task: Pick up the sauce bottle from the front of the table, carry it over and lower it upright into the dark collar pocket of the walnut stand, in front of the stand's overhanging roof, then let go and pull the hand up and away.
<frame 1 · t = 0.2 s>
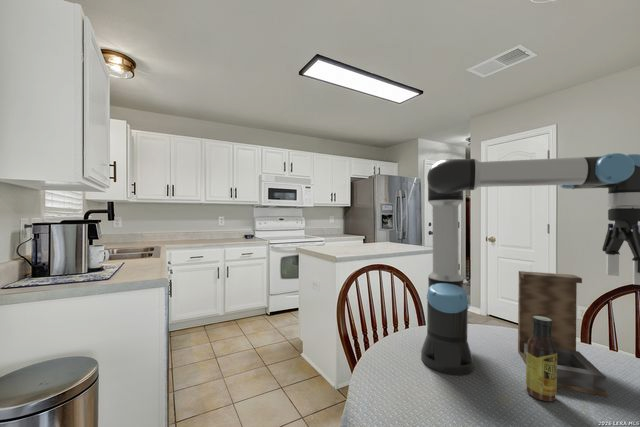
hand: (625, 279, 85), 28 cm above the table, tool pointing down, fingers open, 13 cm apart
sauce bottle: (540, 396, 74), on the table
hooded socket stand: (560, 375, 84), on the table
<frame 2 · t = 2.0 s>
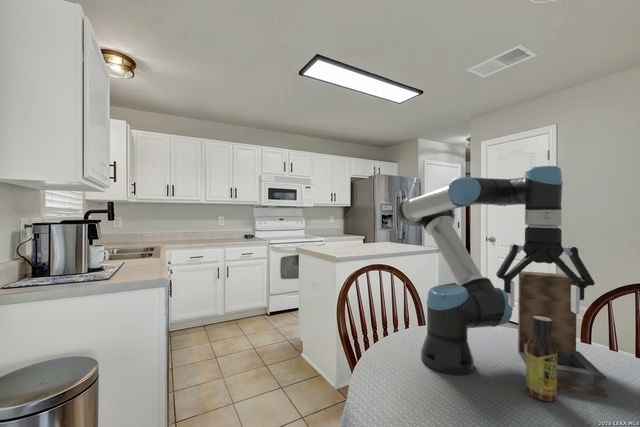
hand: (542, 309, 74), 22 cm above the table, tool pointing down, fingers open, 13 cm apart
nothing on the table moved.
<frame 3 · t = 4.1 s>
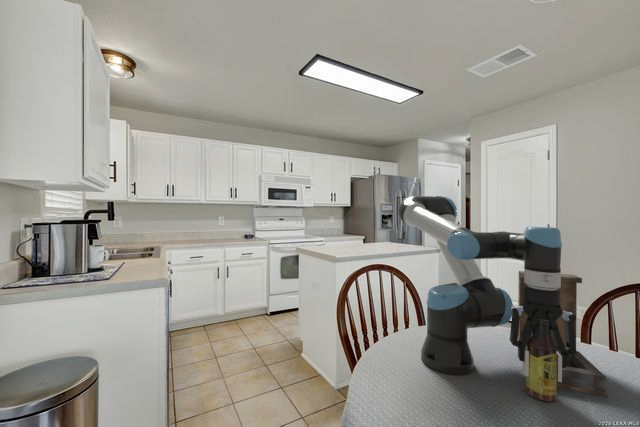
hand: (541, 376, 74), 5 cm above the table, tool pointing down, fingers closed on sauce bottle, 6 cm apart
sauce bottle: (541, 396, 74), on the table, touching gripper
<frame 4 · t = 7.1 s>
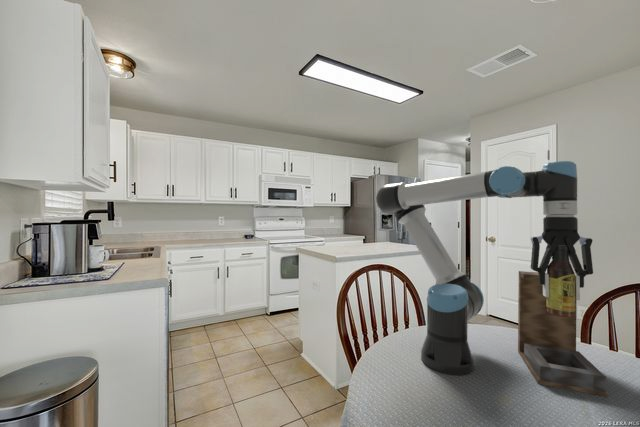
hand: (560, 297, 82), 23 cm above the table, tool pointing down, fingers closed on sauce bottle, 6 cm apart
sauce bottle: (560, 315, 82), point 18 cm above the table, touching gripper
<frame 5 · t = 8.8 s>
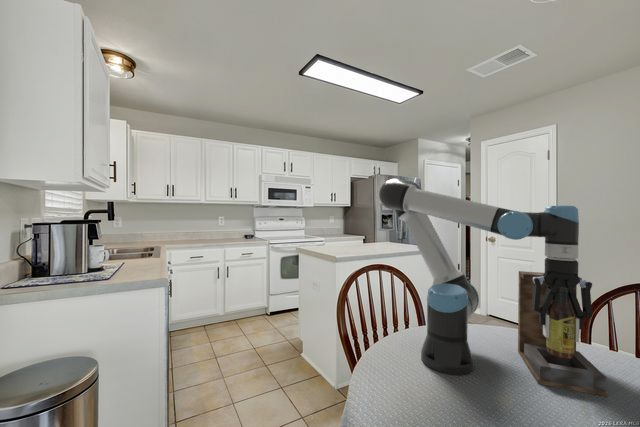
hand: (560, 337, 84), 11 cm above the table, tool pointing down, fingers closed on sauce bottle, 6 cm apart
sauce bottle: (560, 355, 84), point 6 cm above the table, touching gripper
when the fingers open (7 cm above the table, at t = 9.9 s): sauce bottle drops 1 cm, resting on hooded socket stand.
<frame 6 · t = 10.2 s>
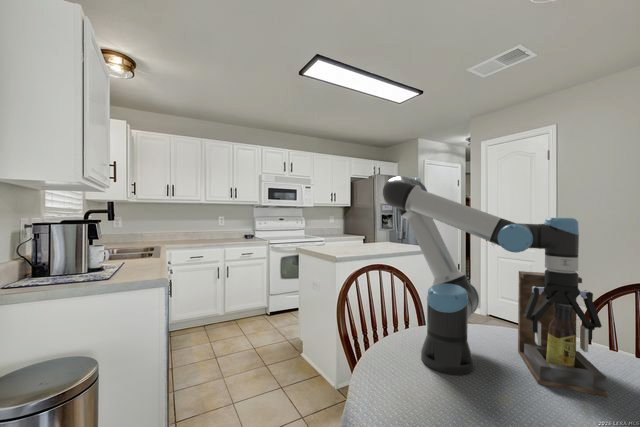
hand: (560, 346, 84), 8 cm above the table, tool pointing down, fingers open, 10 cm apart
sauce bottle: (559, 372, 84), point 1 cm above the table, touching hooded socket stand
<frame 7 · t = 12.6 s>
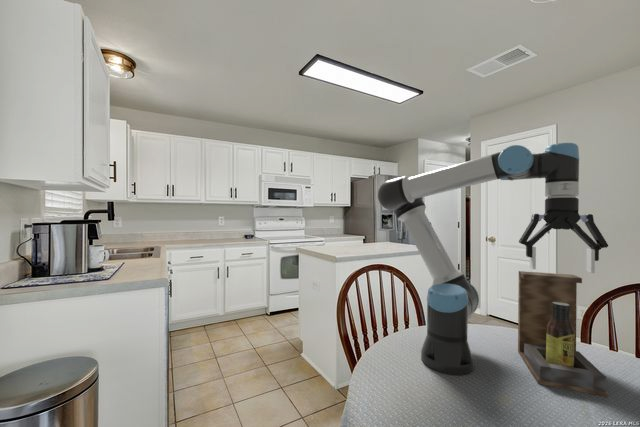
hand: (560, 270, 84), 31 cm above the table, tool pointing down, fingers open, 13 cm apart
nothing on the table moved.
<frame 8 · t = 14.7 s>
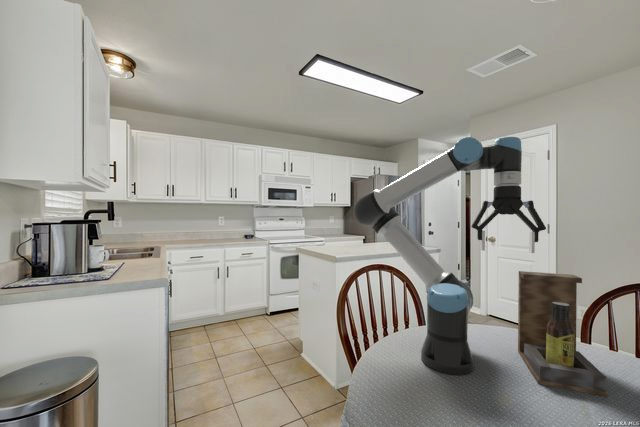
hand: (506, 251, 94), 35 cm above the table, tool pointing down, fingers open, 13 cm apart
nothing on the table moved.
at the end: sauce bottle 0.2 cm off-centre on the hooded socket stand, point 0.8 cm above the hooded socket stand's base; sauce bottle tilted 0°; the gripper is holding nothing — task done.
